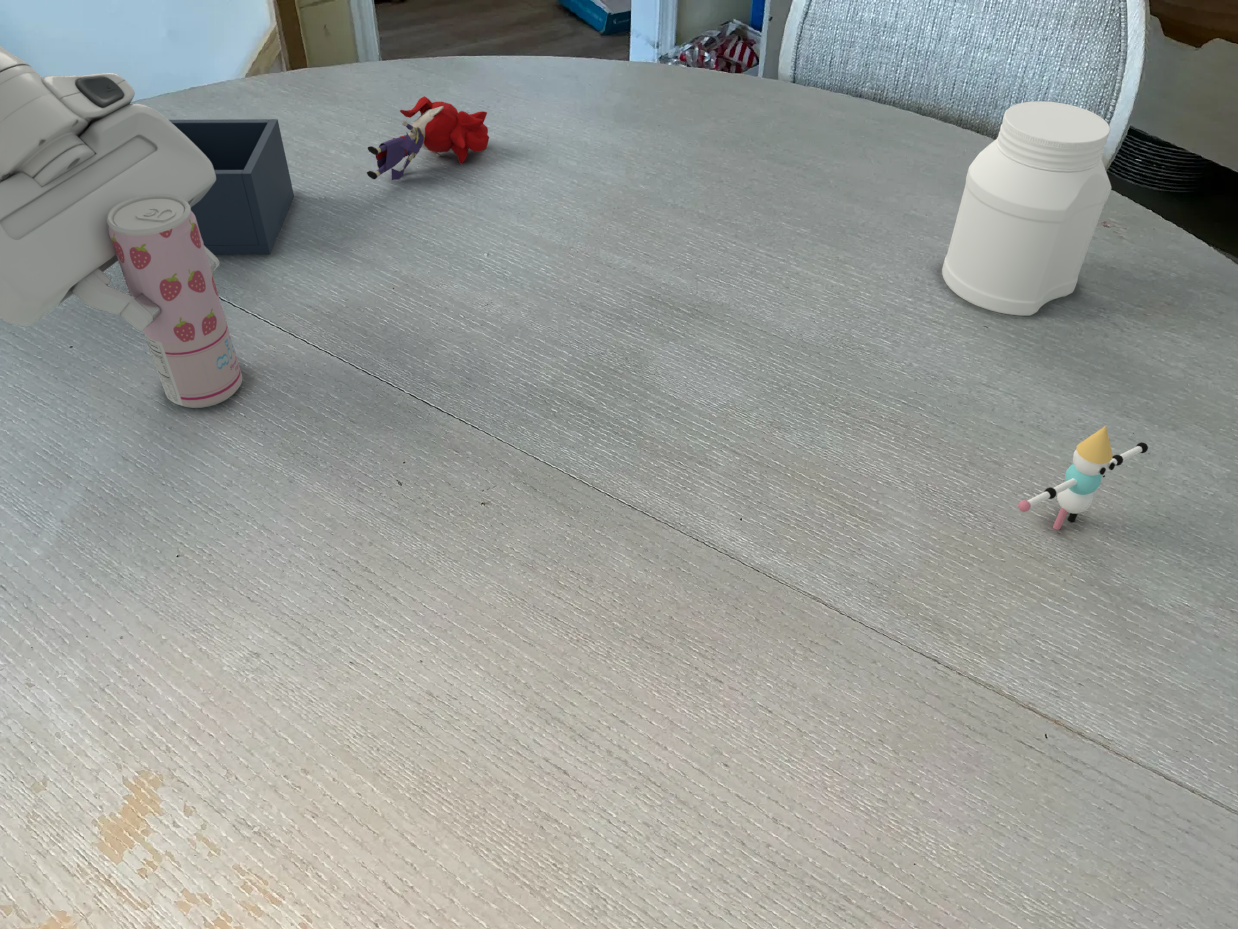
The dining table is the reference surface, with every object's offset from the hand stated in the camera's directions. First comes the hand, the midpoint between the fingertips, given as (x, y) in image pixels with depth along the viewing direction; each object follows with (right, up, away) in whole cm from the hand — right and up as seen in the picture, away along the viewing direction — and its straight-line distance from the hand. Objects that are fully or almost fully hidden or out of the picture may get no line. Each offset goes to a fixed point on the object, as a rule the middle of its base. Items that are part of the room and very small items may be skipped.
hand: (183, 296), depth 72 cm
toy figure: (+62, -16, -4) cm, 64 cm away
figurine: (+11, +19, +35) cm, 41 cm away
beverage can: (-1, -6, +6) cm, 9 cm away
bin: (-7, +11, +25) cm, 28 cm away
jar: (+67, +4, +19) cm, 69 cm away
